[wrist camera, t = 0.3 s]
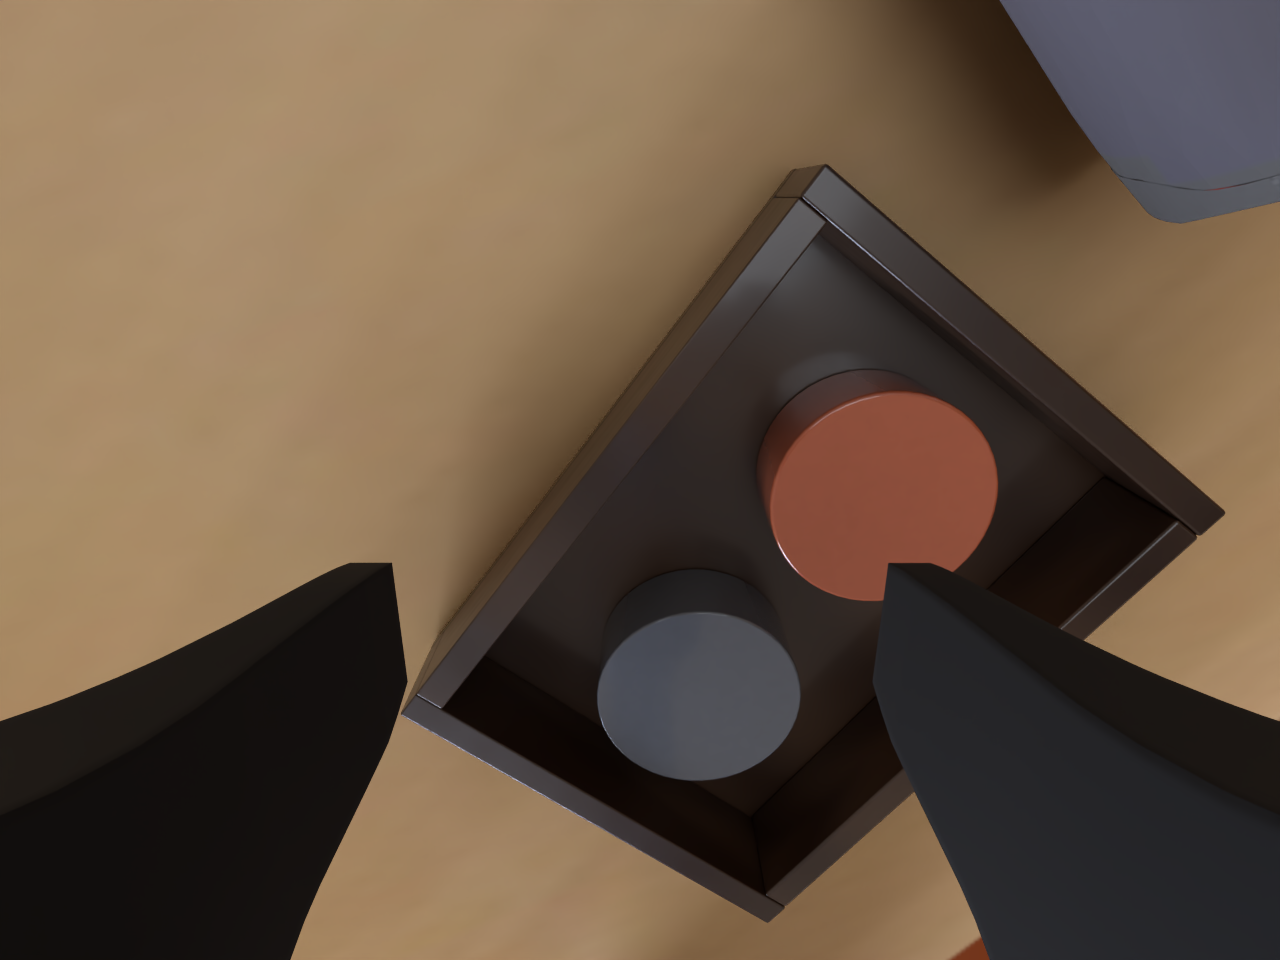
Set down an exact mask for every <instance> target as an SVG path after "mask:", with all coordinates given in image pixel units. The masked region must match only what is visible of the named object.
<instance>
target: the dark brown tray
mask: <svg viewBox="0 0 1280 960" xmlns="http://www.w3.org/2000/svg"><path fill="white" fill-rule="evenodd" d="M857 370H881V371H888V372H893V373H897V374H900V375H904V376H906V377H908V378H910V379H913V380H915V381H917V382H918V383H920V384H922V385H923V386H925V387H926V388H928V389H929V390H931V391H932V392H934V393H936V394H937V395H939V396H940V397H942V398H943V399H945V400H946V401H948V402H949V403H951V404H952V405H954V406H955V407H957V408H958V409H960V410H961V411H963V412H964V413H965V414H966V415H967V416H968V417H969V418H971V419H972V420H973V421H974V423H975V424H976V425H977V426H978V427H979V428H980V430H981V431H982V433H983V434H984V436H985V437H986V439H987V441H988V442H989V445H990V447H991V450H992V452H993V454H994V458H995V462H996V466H997V475H998V496H997V502H996V507H995V511H994V514H993V517H992V520H991V523H990V525H989V527H988V529H987V531H986V533H985V535H984V537H983V539H982V540H981V542H980V543H979V545H978V546H977V548H976V549H975V550H974V552H973V553H972V554H971V555H970V556H969V558H968V559H967V560H966V561H965V562H964V563H963V564H962V565H961V566H960V567H958V568H957V569H956V570H955V571H954V572H953V573H956V574H958V575H960V576H961V577H963V578H965V579H967V580H969V581H971V582H973V583H975V584H977V585H979V586H981V587H983V588H984V589H986V590H988V591H990V592H992V593H994V594H996V595H997V596H999V597H1001V598H1003V599H1005V600H1007V601H1009V602H1010V603H1012V604H1014V605H1016V606H1018V607H1020V608H1021V609H1023V610H1025V611H1027V612H1029V613H1031V614H1033V615H1035V616H1037V617H1038V618H1040V619H1042V620H1044V621H1046V622H1048V623H1050V624H1052V625H1054V626H1056V627H1057V628H1059V629H1061V630H1063V631H1065V632H1067V633H1069V634H1071V635H1073V636H1075V637H1077V638H1079V639H1081V640H1084V639H1086V638H1087V637H1088V636H1089V635H1090V634H1091V633H1092V632H1093V631H1095V630H1096V629H1097V628H1098V627H1099V626H1100V625H1101V624H1102V623H1104V622H1105V621H1106V620H1107V619H1108V618H1109V617H1110V616H1111V615H1112V614H1114V613H1115V612H1116V611H1117V610H1118V609H1119V608H1120V607H1121V606H1123V605H1124V604H1125V603H1126V602H1127V601H1128V600H1129V599H1130V598H1132V597H1133V596H1134V595H1135V594H1136V593H1137V592H1138V591H1139V590H1140V589H1142V588H1143V587H1144V586H1145V585H1146V584H1147V583H1148V582H1149V581H1151V580H1152V579H1153V578H1154V577H1155V576H1156V575H1157V574H1158V573H1160V572H1161V571H1162V570H1163V569H1164V568H1165V567H1166V566H1167V565H1168V564H1170V563H1171V562H1172V561H1173V560H1174V559H1175V558H1176V557H1177V556H1179V555H1180V554H1181V553H1182V552H1183V551H1184V550H1185V549H1186V548H1187V547H1189V546H1190V545H1191V544H1192V543H1193V542H1194V541H1195V540H1196V539H1197V536H1196V535H1202V534H1203V533H1205V532H1206V531H1207V530H1208V529H1209V528H1210V527H1211V526H1212V525H1214V524H1215V523H1216V522H1217V521H1218V520H1219V519H1220V518H1221V517H1222V516H1224V514H1225V511H1224V510H1223V509H1222V508H1221V507H1220V506H1219V505H1218V504H1216V503H1215V502H1214V501H1213V500H1212V499H1211V498H1210V497H1208V496H1207V495H1206V494H1205V493H1204V492H1203V491H1201V490H1200V489H1199V488H1198V487H1197V486H1196V485H1195V484H1193V483H1192V482H1191V481H1190V480H1189V479H1188V478H1187V477H1185V476H1184V475H1183V474H1182V473H1181V472H1180V471H1179V470H1177V469H1176V468H1175V467H1174V466H1173V465H1172V464H1171V463H1169V462H1168V461H1167V460H1166V459H1165V458H1164V457H1162V456H1161V455H1160V454H1159V453H1158V452H1157V451H1156V450H1154V449H1153V448H1152V447H1151V446H1150V445H1149V444H1148V443H1146V442H1145V441H1144V440H1143V439H1142V438H1141V437H1140V436H1138V435H1137V434H1136V433H1135V432H1134V431H1133V430H1132V429H1130V428H1129V427H1128V426H1127V425H1126V424H1125V423H1123V422H1122V421H1121V420H1120V419H1119V418H1118V417H1117V416H1115V415H1114V414H1113V413H1112V412H1111V411H1110V410H1109V409H1107V408H1106V407H1105V406H1104V405H1103V404H1102V403H1101V402H1099V401H1098V400H1097V399H1096V398H1095V397H1094V396H1093V395H1091V394H1090V393H1089V392H1088V391H1087V390H1086V389H1085V388H1083V387H1082V386H1081V385H1080V384H1079V383H1078V382H1076V381H1075V380H1074V379H1073V378H1072V377H1071V376H1070V375H1068V374H1067V373H1066V372H1065V371H1064V370H1063V369H1062V368H1060V367H1059V366H1058V365H1057V364H1056V363H1055V362H1054V361H1052V360H1051V359H1050V358H1049V357H1048V356H1047V355H1046V354H1044V353H1043V352H1042V351H1041V350H1040V349H1039V348H1037V347H1036V346H1035V345H1034V344H1033V343H1032V342H1031V341H1029V340H1028V339H1027V338H1026V337H1025V336H1024V335H1023V334H1021V333H1020V332H1019V331H1018V330H1017V329H1016V328H1015V327H1013V326H1012V325H1011V324H1010V323H1009V322H1008V321H1007V320H1005V319H1004V318H1003V317H1002V316H1001V315H1000V314H998V313H997V312H996V311H995V310H994V309H993V308H992V307H990V306H989V305H988V304H987V303H986V302H985V301H984V300H982V299H981V298H980V297H979V296H978V295H977V294H976V293H974V292H973V291H972V290H971V289H970V288H969V287H968V286H966V285H965V284H964V283H963V282H962V281H961V280H959V279H958V278H957V277H956V276H955V275H954V274H953V273H951V272H950V271H949V270H948V269H947V268H946V267H945V266H943V265H942V264H941V263H940V262H939V261H938V260H937V259H935V258H934V257H933V256H932V255H931V254H930V253H929V252H927V251H926V250H925V249H924V248H923V247H922V246H920V245H919V244H918V243H917V242H916V241H915V240H914V239H912V238H911V237H910V236H909V235H908V234H907V233H906V232H904V231H903V230H902V229H901V228H900V227H899V226H898V225H896V224H895V223H894V222H893V221H892V220H891V219H890V218H888V217H887V216H886V215H885V214H884V213H883V212H882V211H880V210H879V209H878V208H877V207H876V206H875V205H873V204H872V203H871V202H870V201H869V200H868V199H867V198H865V197H864V196H863V195H862V194H861V193H860V192H859V191H857V190H856V189H855V188H854V187H853V186H852V185H851V184H849V183H848V182H847V181H846V180H845V179H844V178H843V177H841V176H840V175H839V174H838V173H837V172H836V171H834V170H833V169H832V168H831V167H830V166H829V165H827V164H822V165H817V166H812V167H807V168H801V169H793V170H792V171H791V172H790V173H789V175H788V176H787V177H786V178H785V180H784V181H783V182H782V184H781V185H780V186H779V188H778V189H777V190H776V192H775V193H774V194H773V196H772V197H771V198H770V200H769V201H768V202H767V204H766V205H765V206H764V207H763V209H762V210H761V211H760V213H759V214H758V215H757V217H756V218H755V219H754V221H753V222H752V223H751V225H750V226H749V227H748V229H747V230H746V231H745V233H744V234H743V235H742V236H741V238H740V239H739V240H738V242H737V243H736V244H735V246H734V247H733V248H732V250H731V251H730V252H729V254H728V255H727V256H726V258H725V259H724V260H723V262H722V263H721V264H720V265H719V267H718V268H717V269H716V271H715V272H714V273H713V275H712V276H711V277H710V279H709V280H708V281H707V283H706V284H705V285H704V287H703V288H702V289H701V291H700V292H699V293H698V295H697V296H696V297H695V298H694V300H693V301H692V302H691V304H690V305H689V306H688V308H687V309H686V310H685V312H684V313H683V314H682V316H681V317H680V318H679V320H678V321H677V322H676V324H675V325H674V326H673V327H672V329H671V330H670V331H669V333H668V334H667V335H666V337H665V338H664V339H663V341H662V342H661V343H660V345H659V346H658V347H657V349H656V350H655V351H654V353H653V354H652V355H651V356H650V358H649V359H648V360H647V362H646V363H645V364H644V366H643V367H642V368H641V370H640V371H639V372H638V374H637V375H636V376H635V378H634V379H633V380H632V382H631V383H630V384H629V386H628V387H627V388H626V389H625V391H624V392H623V393H622V395H621V396H620V397H619V399H618V400H617V401H616V403H615V404H614V405H613V407H612V408H611V409H610V411H609V412H608V413H607V415H606V416H605V417H604V418H603V420H602V421H601V422H600V424H599V425H598V426H597V428H596V429H595V430H594V432H593V433H592V434H591V436H590V437H589V438H588V440H587V441H586V442H585V444H584V445H583V446H582V447H581V449H580V450H579V451H578V453H577V454H576V455H575V457H574V458H573V459H572V461H571V462H570V463H569V465H568V466H567V467H566V469H565V470H564V471H563V473H562V474H561V475H560V477H559V478H558V479H557V480H556V482H555V483H554V484H553V486H552V487H551V488H550V490H549V491H548V492H547V494H546V495H545V496H544V498H543V499H542V500H541V502H540V503H539V504H538V506H537V507H536V508H535V509H534V511H533V512H532V513H531V515H530V516H529V517H528V519H527V520H526V521H525V523H524V524H523V525H522V527H521V528H520V529H519V531H518V532H517V533H516V535H515V536H514V537H513V538H512V540H511V541H510V542H509V544H508V545H507V546H506V548H505V549H504V550H503V552H502V553H501V554H500V556H499V557H498V558H497V560H496V561H495V562H494V564H493V565H492V566H491V567H490V569H489V570H488V571H487V573H486V574H485V575H484V577H483V578H482V579H481V581H480V582H479V583H478V585H477V586H476V587H475V589H474V590H473V591H472V593H471V594H470V595H469V597H468V598H467V599H466V600H465V602H464V603H463V604H462V606H461V607H460V608H459V610H458V611H457V612H456V614H455V615H454V616H453V618H452V619H451V620H450V622H449V623H448V624H447V626H446V627H445V628H444V629H443V631H442V632H441V633H440V635H439V636H438V637H437V639H436V640H435V641H434V643H433V645H432V647H431V650H430V652H429V654H428V656H427V658H426V660H425V662H424V665H423V667H422V669H421V671H420V673H419V675H418V677H417V680H416V682H415V684H414V686H413V688H412V690H411V692H410V695H409V697H408V699H407V701H406V703H405V705H404V708H403V710H402V712H401V715H402V716H404V717H406V718H407V719H409V720H411V721H413V722H414V723H416V724H418V725H420V726H421V727H423V728H425V729H427V730H428V731H430V732H432V733H434V734H435V735H437V736H439V737H441V738H443V739H444V740H446V741H448V742H450V743H451V744H453V745H455V746H457V747H458V748H460V749H462V750H464V751H465V752H467V753H469V754H471V755H472V756H474V757H476V758H478V759H480V760H481V761H483V762H485V763H487V764H488V765H490V766H492V767H494V768H495V769H497V770H499V771H501V772H502V773H504V774H506V775H508V776H510V777H511V778H513V779H515V780H517V781H518V782H520V783H522V784H524V785H525V786H527V787H529V788H531V789H532V790H534V791H536V792H538V793H539V794H541V795H543V796H545V797H547V798H548V799H550V800H552V801H554V802H555V803H557V804H559V805H561V806H562V807H564V808H566V809H568V810H569V811H571V812H573V813H575V814H576V815H578V816H580V817H582V818H584V819H585V820H587V821H589V822H591V823H592V824H594V825H596V826H598V827H599V828H601V829H603V830H605V831H606V832H608V833H610V834H612V835H613V836H615V837H617V838H619V839H621V840H622V841H624V842H626V843H628V844H629V845H631V846H633V847H635V848H636V849H638V850H640V851H642V852H643V853H645V854H647V855H649V856H650V857H652V858H654V859H656V860H658V861H659V862H661V863H663V864H665V865H666V866H668V867H670V868H672V869H673V870H675V871H677V872H679V873H680V874H682V875H684V876H686V877H687V878H689V879H691V880H693V881H695V882H696V883H698V884H700V885H702V886H703V887H705V888H707V889H709V890H710V891H712V892H714V893H716V894H717V895H719V896H721V897H723V898H725V899H726V900H728V901H730V902H732V903H733V904H735V905H737V906H739V907H740V908H742V909H744V910H746V911H747V912H749V913H751V914H753V915H754V916H756V917H758V918H760V919H762V920H763V921H765V922H767V923H768V922H770V921H771V920H772V919H773V918H774V917H775V916H776V915H778V914H779V913H780V912H781V911H782V910H783V909H784V908H785V906H786V905H788V904H789V903H790V902H791V901H792V900H793V899H794V898H796V897H797V896H798V895H799V894H800V893H801V892H802V891H803V890H805V889H806V888H807V887H808V886H809V885H810V884H811V883H812V882H813V881H815V880H816V879H817V878H818V877H819V876H820V875H821V874H822V873H824V872H825V871H826V870H827V869H828V868H829V867H830V866H831V865H833V864H834V863H835V862H836V861H837V860H838V859H839V858H840V857H841V856H843V855H844V854H845V853H846V852H847V851H848V850H849V849H850V848H852V847H853V846H854V845H855V844H856V843H857V842H858V841H859V840H861V839H862V838H863V837H864V836H865V835H866V834H867V833H868V832H869V831H871V830H872V829H873V828H874V827H875V826H876V825H877V824H878V823H880V822H881V821H882V820H883V819H884V818H885V817H886V816H887V815H889V814H890V813H891V812H892V811H893V810H894V809H895V808H896V807H897V806H899V805H900V804H901V803H902V802H903V801H904V800H905V799H906V798H908V797H909V796H910V795H911V794H912V793H913V792H914V789H913V787H912V785H911V783H910V781H909V779H908V776H907V774H906V772H905V770H904V768H903V766H902V764H901V762H900V760H899V757H898V755H897V753H896V751H895V749H894V747H893V744H892V742H891V739H890V736H889V733H888V730H887V727H886V724H885V721H884V718H883V715H882V712H881V709H880V705H879V702H878V699H877V695H876V692H875V689H874V685H873V674H874V667H875V659H876V652H877V644H878V637H879V629H880V621H881V614H882V606H883V600H882V601H860V600H853V599H847V598H843V597H839V596H836V595H833V594H831V593H828V592H825V591H823V590H821V589H819V588H817V587H816V586H814V585H812V584H810V583H809V582H808V581H806V580H805V579H804V578H802V577H801V576H800V575H799V574H798V573H797V572H796V571H795V570H794V569H793V568H792V567H791V566H790V564H789V563H788V562H787V561H786V559H785V558H784V556H783V555H782V553H781V551H780V549H779V547H778V545H777V543H776V540H775V538H774V535H773V533H772V530H771V528H770V525H769V523H768V520H767V518H766V515H765V513H764V510H763V507H762V505H761V502H760V499H759V495H758V490H757V481H756V470H757V461H758V456H759V451H760V448H761V445H762V442H763V439H764V437H765V435H766V433H767V431H768V429H769V427H770V425H771V424H772V423H773V421H774V420H775V418H776V417H777V415H778V414H779V413H780V412H781V411H782V409H783V408H784V407H785V406H786V405H787V404H788V403H789V402H790V401H791V400H792V399H793V398H795V397H796V396H797V395H798V394H800V393H801V392H802V391H804V390H805V389H807V388H808V387H810V386H812V385H813V384H815V383H817V382H819V381H821V380H823V379H826V378H829V377H831V376H834V375H837V374H841V373H845V372H849V371H857ZM688 569H704V570H711V571H717V572H721V573H725V574H728V575H731V576H734V577H736V578H739V579H740V580H742V581H744V582H746V583H748V584H750V585H751V586H752V587H754V588H755V589H756V590H758V591H759V592H760V593H761V594H762V595H763V596H764V597H765V598H766V599H767V600H768V601H769V602H770V604H771V605H772V606H773V607H774V609H775V611H776V613H777V614H778V616H779V618H780V621H781V624H782V626H783V629H784V632H785V635H786V638H787V641H788V644H789V647H790V650H791V653H792V656H793V659H794V662H795V665H796V668H797V671H798V675H799V679H800V685H801V700H800V707H799V711H798V715H797V718H796V720H795V723H794V725H793V727H792V729H791V731H790V732H789V734H788V736H787V737H786V739H785V740H784V741H783V742H782V744H781V745H780V746H779V747H778V748H777V749H776V750H775V751H774V752H773V753H772V754H771V755H770V756H768V757H767V758H766V759H764V760H763V761H761V762H760V763H758V764H757V765H755V766H753V767H751V768H749V769H747V770H745V771H743V772H740V773H738V774H735V775H731V776H728V777H724V778H719V779H714V780H704V781H688V780H679V779H673V778H669V777H664V776H661V775H658V774H655V773H652V772H650V771H648V770H646V769H644V768H642V767H640V766H639V765H637V764H635V763H634V762H632V761H631V760H630V759H628V758H627V757H626V756H625V755H623V754H622V753H621V752H620V751H619V750H618V748H617V747H616V746H615V745H614V744H613V742H612V741H611V740H610V738H609V737H608V735H607V733H606V731H605V729H604V727H603V726H602V723H601V720H600V717H599V712H598V707H597V687H598V675H599V664H600V652H601V643H602V636H603V632H604V629H605V626H606V623H607V621H608V619H609V617H610V615H611V614H612V612H613V610H614V609H615V607H616V606H617V605H618V604H619V603H620V601H621V600H622V599H623V598H624V597H625V596H626V595H627V594H629V593H630V592H631V591H632V590H633V589H635V588H636V587H638V586H639V585H641V584H642V583H644V582H646V581H648V580H650V579H652V578H654V577H657V576H660V575H662V574H665V573H669V572H674V571H679V570H688Z"/></svg>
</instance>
